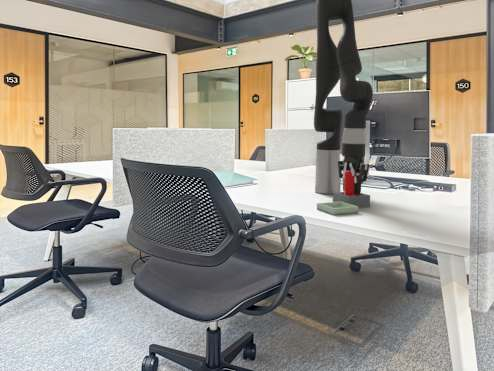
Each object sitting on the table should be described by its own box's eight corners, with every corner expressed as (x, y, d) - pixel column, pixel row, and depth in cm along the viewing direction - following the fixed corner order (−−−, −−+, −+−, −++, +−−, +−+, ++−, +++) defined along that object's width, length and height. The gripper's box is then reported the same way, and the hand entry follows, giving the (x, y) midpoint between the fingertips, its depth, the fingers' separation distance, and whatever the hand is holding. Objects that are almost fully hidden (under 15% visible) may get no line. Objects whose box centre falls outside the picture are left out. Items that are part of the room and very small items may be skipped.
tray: (340, 207, 136) (340, 201, 136) (358, 212, 128) (358, 206, 127) (316, 209, 132) (316, 203, 132) (333, 215, 124) (333, 208, 124)
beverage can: (349, 203, 143) (351, 169, 141) (362, 205, 139) (363, 170, 137) (339, 205, 140) (341, 170, 138) (352, 207, 136) (354, 171, 134)
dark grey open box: (353, 202, 145) (353, 191, 144) (369, 207, 137) (370, 195, 137) (332, 204, 142) (333, 192, 141) (348, 208, 134) (349, 196, 133)
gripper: (377, 143, 131) (374, 195, 134) (349, 141, 144) (347, 189, 147) (358, 143, 128) (356, 197, 131) (331, 141, 141) (329, 190, 144)
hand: (351, 192), depth 139 cm, fingers closed on beverage can, 5 cm apart
